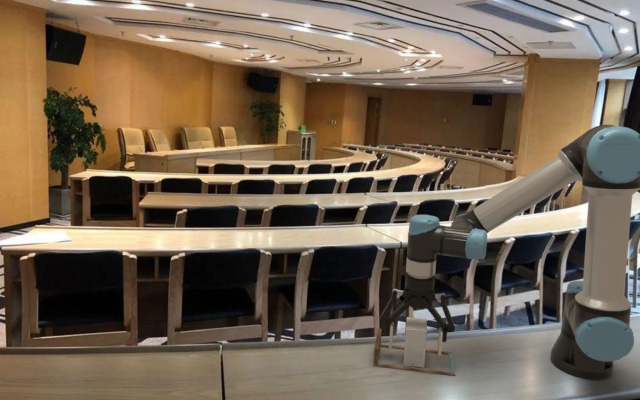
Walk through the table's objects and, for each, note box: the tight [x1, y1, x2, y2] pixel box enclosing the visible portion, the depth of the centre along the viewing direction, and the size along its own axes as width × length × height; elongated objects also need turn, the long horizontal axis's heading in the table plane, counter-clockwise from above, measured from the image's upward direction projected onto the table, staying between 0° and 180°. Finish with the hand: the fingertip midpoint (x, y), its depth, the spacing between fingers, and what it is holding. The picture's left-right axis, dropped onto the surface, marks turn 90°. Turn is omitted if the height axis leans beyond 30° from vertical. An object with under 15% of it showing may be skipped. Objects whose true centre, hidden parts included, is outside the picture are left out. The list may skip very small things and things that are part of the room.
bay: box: [373, 328, 456, 377], centre depth 136 cm, size 21×12×5 cm, turn 79°
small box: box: [403, 316, 428, 369], centre depth 136 cm, size 8×6×10 cm
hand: (414, 349), depth 136 cm, fingers open, 12 cm apart
